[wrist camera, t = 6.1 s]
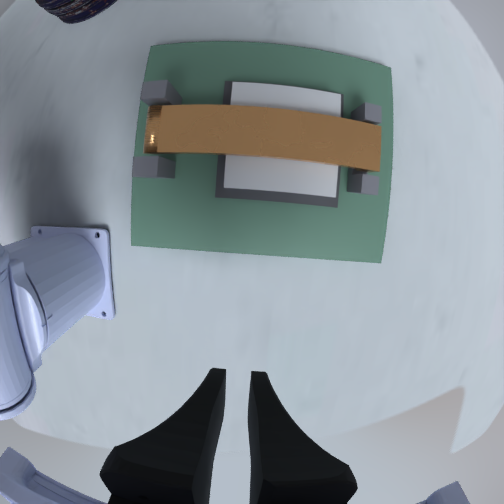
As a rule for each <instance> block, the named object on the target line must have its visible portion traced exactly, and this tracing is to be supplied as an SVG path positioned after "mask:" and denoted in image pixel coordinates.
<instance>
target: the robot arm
mask: <svg viewBox="0 0 504 504" xmlns="http://www.w3.org/2000/svg"><path fill="white" fill-rule="evenodd" d="M41 231H42V233H41ZM97 232H98V233H99V234H100V237H98V236H97ZM103 311H104V312H105V313H106V315H105V314H104V312H103ZM85 315H87V316H92V317H97V318H102V319H108V320H112V319H113V318H114V317H115V310H114V301H113V291H112V280H111V266H110V247H109V232H108V231H107V230H106V229H99V228H78V227H55V226H32V227H31V237H30V238H27V239H24V240H21V241H18V242H14V243H11V244H8V245H5V246H2V245H1V244H0V420H5V419H10V418H12V417H15V416H17V415H19V414H20V413H22V412H23V411H24V410H25V409H26V408H27V407H28V406H29V405H30V404H31V402H32V400H33V399H34V396H35V393H36V380H35V377H34V374H33V373H34V372H35V371H36V370H37V369H38V368H39V367H40V366H41V365H42V360H41V355H42V353H43V352H44V351H45V350H46V349H47V348H48V347H49V346H50V345H51V344H53V343H54V342H55V341H56V340H57V339H58V338H59V337H60V336H61V335H63V334H64V333H65V332H66V331H67V330H68V329H69V328H71V327H72V326H73V325H74V324H75V323H76V322H78V321H79V320H80V319H81V318H82V317H83V316H85ZM225 389H226V369H219V368H212V369H210V371H209V373H208V374H207V376H206V378H205V379H204V381H203V382H202V383H201V385H200V386H199V387H198V389H197V390H196V391H195V392H194V394H193V395H192V396H191V397H190V398H189V399H188V400H187V401H186V402H185V403H184V405H183V406H182V407H181V408H179V409H178V410H177V411H176V412H175V413H174V414H173V415H172V416H170V417H169V418H168V419H167V420H165V421H164V422H162V423H161V424H160V425H158V426H157V427H155V428H154V429H152V430H150V431H149V432H147V433H145V434H143V435H141V436H139V437H138V438H135V439H133V440H131V441H129V442H126V443H124V444H121V445H118V446H115V447H114V448H113V450H112V451H111V453H110V454H109V455H108V457H107V459H106V461H105V462H104V465H103V467H102V469H101V471H100V477H101V479H102V481H103V482H104V484H105V485H106V487H107V488H108V490H109V491H110V492H111V497H110V499H109V502H108V504H209V498H210V487H211V477H212V469H213V461H214V456H215V452H216V448H217V443H218V439H219V435H220V431H221V426H222V422H223V417H224V407H225ZM248 431H249V444H250V456H251V481H250V504H347V502H348V501H349V500H350V499H351V497H352V496H353V495H354V494H355V492H356V491H357V489H358V488H357V483H356V479H355V477H354V475H353V473H352V471H351V469H350V467H349V465H347V464H345V463H344V462H342V461H340V460H339V459H337V458H335V457H334V456H332V455H330V454H329V453H328V452H326V451H325V450H323V449H322V448H321V447H320V446H319V445H317V444H316V443H315V442H314V441H313V440H312V439H310V438H309V437H308V436H307V435H306V434H305V433H304V432H303V431H302V430H301V429H300V427H299V426H298V425H297V424H296V423H295V422H294V420H293V419H292V418H291V417H290V415H289V414H288V412H287V411H286V410H285V408H284V407H283V405H282V404H281V402H280V400H279V398H278V397H277V395H276V393H275V391H274V389H273V387H272V385H271V383H270V380H269V378H268V375H267V373H266V372H258V371H251V382H250V392H249V403H248ZM0 494H1V495H2V496H3V497H4V498H5V499H6V500H7V501H9V502H10V503H11V504H107V503H104V502H101V501H99V500H96V499H93V498H91V497H89V496H87V495H84V494H82V493H80V492H78V491H75V490H73V489H71V488H69V487H67V486H65V485H63V484H61V483H59V482H57V481H55V480H53V479H52V478H50V477H48V476H46V475H44V474H43V473H41V472H39V471H37V470H36V468H35V467H34V465H33V464H32V463H31V462H30V461H29V460H28V459H27V458H25V457H24V456H22V455H21V454H19V453H18V452H16V451H15V450H13V449H12V448H11V447H8V448H7V449H6V451H5V452H4V453H3V454H2V456H1V457H0ZM417 504H470V503H469V501H468V499H467V497H466V495H465V494H464V492H463V490H462V488H461V486H460V484H459V483H458V481H456V482H453V483H451V484H449V485H447V486H445V487H443V488H441V489H438V490H437V491H435V492H434V493H432V494H431V495H430V496H429V497H428V498H427V500H424V501H422V502H419V503H417Z"/></svg>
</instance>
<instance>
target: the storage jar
mask: <svg viewBox="0 0 504 504" xmlns="http://www.w3.org/2000/svg"><path fill="white" fill-rule="evenodd" d="M35 1H36V3H38V4H39V6H40V7H43V8H44V9H45V10H46V11H48V12H49V13H51V14H53V15H55V16H57V17H59V18H60V19H61V20H62V21H63V22H65V23H69V24H73V23H79V22H82V21H85V20H87V19H90V18H92V17H94V16H96V15H97V14H99V13H101V12H102V11H104V10H105V9H107V8H108V7H110V6H111V5H112V4H114V3H115V2H116V1H117V0H35Z"/></svg>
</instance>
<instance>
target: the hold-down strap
mask: <svg viewBox="0 0 504 504" xmlns="http://www.w3.org/2000/svg"><path fill="white" fill-rule="evenodd" d="M143 153H144V154H213V155H235V156H251V157H264V158H275V159H286V160H295V161H304V162H312V163H320V164H327V165H334V166H341V167H347V168H353V169H356V170H357V171H363V172H369V173H371V172H380V158H381V126H378V125H374V124H370V123H365V122H361V121H356V120H351V119H346V118H341V117H336V116H330V115H324V114H318V113H311V112H304V111H297V110H289V109H280V108H269V107H257V106H241V105H210V104H194V105H163V106H162V105H151V106H149V107H148V112H147V120H146V128H145V137H144V147H143Z"/></svg>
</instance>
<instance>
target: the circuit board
mask: <svg viewBox="0 0 504 504" xmlns="http://www.w3.org/2000/svg"><path fill="white" fill-rule="evenodd" d="M140 100H141V101H140V107H139V115H138V122H137V131H136V140H135V150H134V157H133V169H132V177H133V178H132V201H131V246H144V247H157V248H171V249H185V250H199V251H213V252H227V253H241V254H255V255H269V256H283V257H298V258H312V259H326V260H341V261H356V262H370V263H381V260H382V254H383V248H384V241H385V234H386V227H387V219H388V210H389V201H390V190H391V176H392V159H393V93H392V76H391V68H390V67H387V66H384V65H380V64H377V63H373V62H370V61H366V60H363V59H359V58H355V57H351V56H346V55H342V54H338V53H333V52H328V51H322V50H317V49H311V48H305V47H298V46H290V45H281V44H271V43H258V42H236V41H209V42H187V43H174V44H164V45H156V46H151V48H150V52H149V57H148V62H147V67H146V72H145V77H144V82H143V85H142V91H141V97H140ZM194 104H210V105H241V106H257V107H269V108H280V109H289V110H297V111H304V112H311V113H318V114H324V115H330V116H336V117H341V118H346V119H351V120H356V121H361V122H365V123H370V124H374V125H378V126H381V158H380V172H371V173H369V172H363V171H357V170H356V169H353V168H347V167H341V166H334V165H327V164H320V163H312V162H304V161H295V160H286V159H275V158H264V157H251V156H235V155H213V154H144V153H143V147H144V137H145V128H146V120H147V112H148V107H149V106H151V105H162V106H163V105H194Z"/></svg>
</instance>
